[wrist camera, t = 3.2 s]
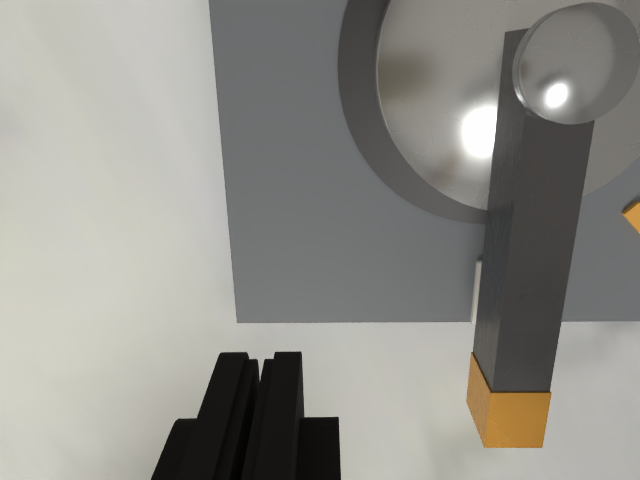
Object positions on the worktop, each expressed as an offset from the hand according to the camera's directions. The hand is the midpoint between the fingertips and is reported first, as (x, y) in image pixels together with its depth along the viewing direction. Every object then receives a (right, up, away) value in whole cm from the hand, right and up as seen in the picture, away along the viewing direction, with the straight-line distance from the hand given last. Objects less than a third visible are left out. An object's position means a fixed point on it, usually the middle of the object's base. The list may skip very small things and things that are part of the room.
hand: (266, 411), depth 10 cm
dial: (+8, +6, +9) cm, 14 cm away
